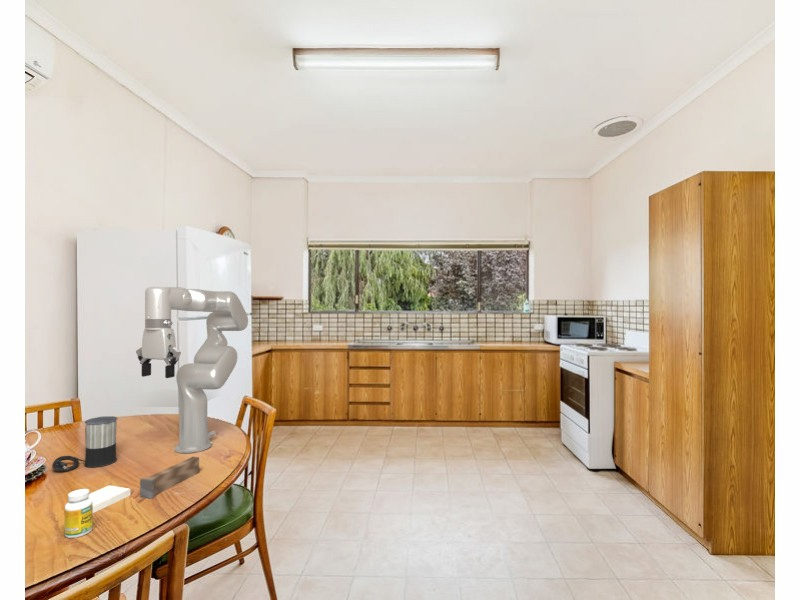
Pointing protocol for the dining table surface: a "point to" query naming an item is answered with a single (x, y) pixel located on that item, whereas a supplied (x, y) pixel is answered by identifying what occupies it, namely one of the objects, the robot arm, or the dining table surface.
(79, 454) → the dining table surface
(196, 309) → the robot arm
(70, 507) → the supplement bottle
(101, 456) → the milk frother
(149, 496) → the bar
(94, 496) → the tile
